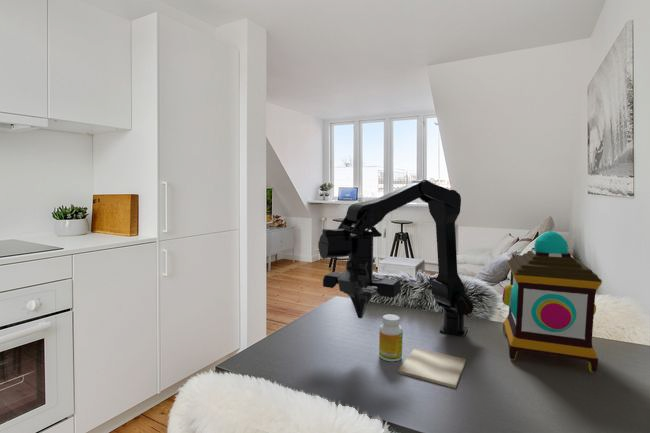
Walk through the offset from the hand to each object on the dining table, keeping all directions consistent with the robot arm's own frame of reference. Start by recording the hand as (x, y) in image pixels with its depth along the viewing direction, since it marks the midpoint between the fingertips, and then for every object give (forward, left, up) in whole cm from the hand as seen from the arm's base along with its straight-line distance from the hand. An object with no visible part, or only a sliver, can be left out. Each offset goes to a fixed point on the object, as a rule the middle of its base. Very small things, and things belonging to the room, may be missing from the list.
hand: (360, 317), depth 91 cm
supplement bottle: (0, +8, -8) cm, 11 cm away
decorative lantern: (-22, +40, -8) cm, 46 cm away
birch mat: (0, +18, -8) cm, 20 cm away
